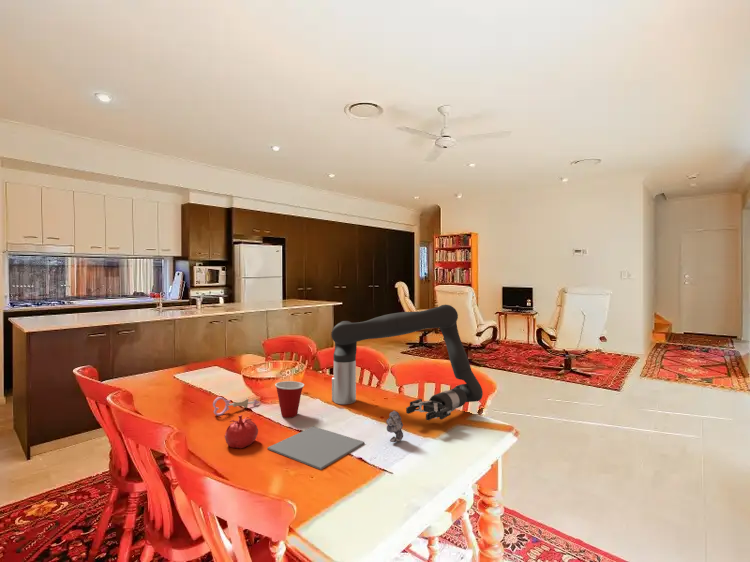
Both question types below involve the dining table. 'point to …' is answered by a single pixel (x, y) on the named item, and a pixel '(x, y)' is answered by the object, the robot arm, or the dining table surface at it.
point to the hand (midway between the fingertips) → (416, 413)
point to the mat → (316, 447)
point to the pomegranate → (241, 433)
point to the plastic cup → (289, 397)
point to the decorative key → (242, 403)
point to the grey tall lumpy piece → (395, 426)
